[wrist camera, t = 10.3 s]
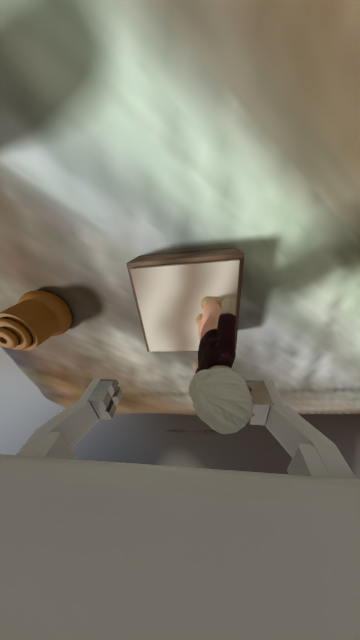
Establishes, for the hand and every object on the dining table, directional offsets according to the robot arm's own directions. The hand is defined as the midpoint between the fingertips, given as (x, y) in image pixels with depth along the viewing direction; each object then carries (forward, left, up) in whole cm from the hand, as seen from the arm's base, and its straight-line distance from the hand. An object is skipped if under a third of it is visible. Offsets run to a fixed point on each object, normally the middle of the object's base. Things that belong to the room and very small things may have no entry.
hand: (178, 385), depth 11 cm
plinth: (0, 0, -15) cm, 15 cm away
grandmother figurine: (-3, 0, -10) cm, 11 cm away
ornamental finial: (+22, +1, -15) cm, 27 cm away
